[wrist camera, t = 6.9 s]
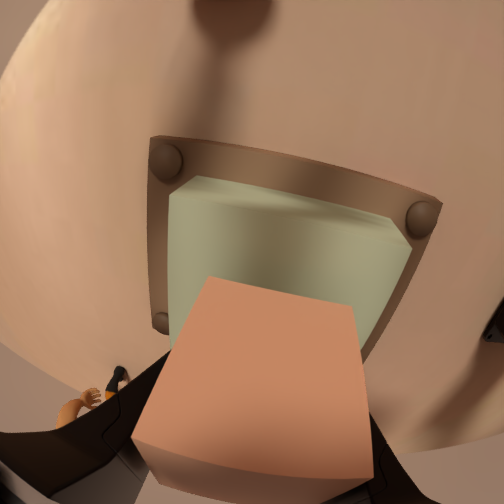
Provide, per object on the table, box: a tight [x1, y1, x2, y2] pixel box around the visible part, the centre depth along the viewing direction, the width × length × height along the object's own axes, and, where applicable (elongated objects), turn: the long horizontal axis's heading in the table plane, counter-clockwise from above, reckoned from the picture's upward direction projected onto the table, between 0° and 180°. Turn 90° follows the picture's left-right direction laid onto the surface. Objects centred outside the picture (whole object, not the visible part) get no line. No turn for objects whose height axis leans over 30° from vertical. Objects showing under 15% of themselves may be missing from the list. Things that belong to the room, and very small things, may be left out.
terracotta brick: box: [131, 276, 374, 504], centre depth 8 cm, size 5×5×6 cm
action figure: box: [56, 366, 125, 429], centre depth 17 cm, size 9×4×15 cm, turn 82°
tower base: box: [147, 135, 443, 364], centre depth 13 cm, size 14×12×4 cm
